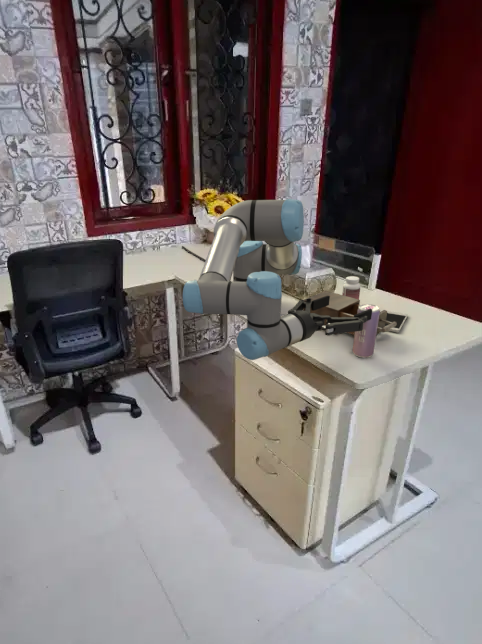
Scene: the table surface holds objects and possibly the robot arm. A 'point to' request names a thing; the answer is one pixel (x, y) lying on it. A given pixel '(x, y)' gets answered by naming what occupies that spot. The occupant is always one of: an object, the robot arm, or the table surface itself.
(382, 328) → the drawer
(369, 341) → the beverage can
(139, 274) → the table surface
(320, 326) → the robot arm
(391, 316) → the smartphone
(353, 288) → the pill bottle
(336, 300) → the cabinet
